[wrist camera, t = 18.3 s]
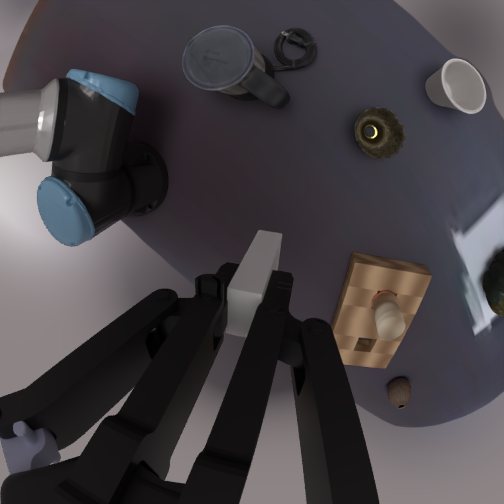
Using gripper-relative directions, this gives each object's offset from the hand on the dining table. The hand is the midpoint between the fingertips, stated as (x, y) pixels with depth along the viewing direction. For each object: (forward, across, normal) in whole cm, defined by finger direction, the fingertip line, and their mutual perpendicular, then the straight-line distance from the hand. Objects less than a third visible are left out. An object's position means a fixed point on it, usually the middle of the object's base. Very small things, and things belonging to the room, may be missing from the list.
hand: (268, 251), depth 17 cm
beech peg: (+30, +20, -20) cm, 41 cm away
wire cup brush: (+31, +11, +9) cm, 34 cm away
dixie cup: (+31, +23, +20) cm, 43 cm away
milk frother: (+31, -7, +19) cm, 37 cm away
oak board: (+30, +20, -26) cm, 45 cm away
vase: (+31, +37, -49) cm, 69 cm away
